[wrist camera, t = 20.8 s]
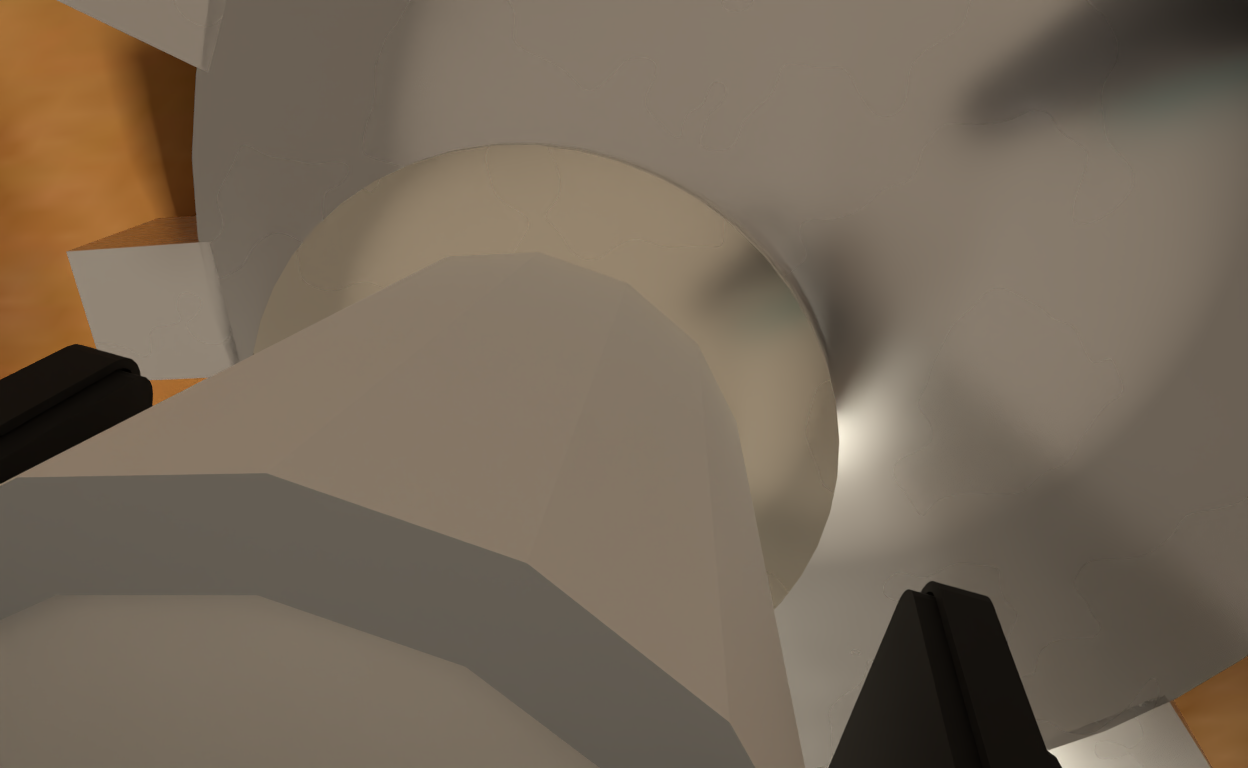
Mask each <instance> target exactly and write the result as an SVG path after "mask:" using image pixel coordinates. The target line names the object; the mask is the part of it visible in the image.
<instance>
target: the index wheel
mask: <svg viewBox="0 0 1248 768" xmlns="http://www.w3.org/2000/svg"><path fill="white" fill-rule="evenodd" d="M58 1H60V2H62V3H64V4H66V5H68V6H70V7H72V8H74V9H76V10H78V11H80V12H83V13H85V14H87V15H89V16H91V17H93V18H95V19H97V20H99V21H101V22H103V23H105V24H107V25H110V26H112V27H114V28H116V29H118V30H120V31H122V32H124V33H126V34H128V35H130V36H132V37H135V38H137V39H139V40H141V41H143V42H145V43H147V44H149V45H151V46H153V47H155V48H157V49H159V50H162V51H164V52H166V53H168V54H170V55H172V56H174V57H176V58H178V59H180V60H182V61H184V62H186V63H189V64H191V65H193V66H195V67H197V71H196V83H195V103H194V123H193V143H192V166H193V179H194V193H195V206H196V216H183V217H170V218H157V219H154V220H152V221H149V222H146V223H143V224H141V225H138V226H135V227H132V228H130V229H127V230H124V231H121V232H119V233H116V234H113V235H111V236H108V237H105V238H102V239H100V240H97V241H94V242H91V243H89V244H86V245H83V246H80V247H78V248H75V249H72V250H69V251H67V255H68V258H69V262H70V265H71V268H72V271H73V274H74V278H75V281H76V284H77V287H78V290H79V294H80V297H81V300H82V303H83V306H84V310H85V313H86V316H87V319H88V322H89V326H90V329H91V332H92V335H93V339H94V342H95V345H96V348H97V349H98V350H101V351H105V352H109V353H112V354H116V355H119V356H123V357H127V358H130V359H133V360H134V361H135V362H136V363H137V364H138V367H139V370H140V373H141V376H143V377H146V378H147V379H148V380H163V379H186V378H208V377H211V376H213V375H215V374H217V373H219V372H221V371H223V370H225V369H227V368H229V367H231V366H233V365H234V364H236V363H238V362H240V361H242V360H244V359H246V358H248V357H250V356H252V355H254V354H256V353H258V352H260V351H262V350H264V349H266V348H268V347H270V346H272V345H274V344H276V343H278V342H280V341H282V340H284V339H285V338H287V337H289V336H291V335H293V334H295V333H297V332H299V331H301V330H303V329H305V328H307V327H309V326H311V325H313V324H315V323H317V322H319V321H321V320H323V319H325V318H327V317H329V316H331V315H333V314H334V313H336V312H338V311H340V310H342V309H344V308H346V307H348V306H350V305H352V304H354V303H356V302H358V301H360V300H362V299H364V298H366V297H368V296H370V295H372V294H374V293H376V292H378V291H380V290H382V289H384V288H386V287H388V286H390V285H392V284H394V283H396V282H398V281H400V280H402V279H404V278H406V277H408V276H410V275H412V274H414V273H416V272H418V271H420V270H422V269H424V268H426V267H428V266H430V265H432V264H434V263H436V262H438V261H440V260H442V259H444V258H446V257H448V256H468V255H488V254H509V253H529V252H540V253H543V254H546V255H549V256H551V257H554V258H557V259H560V260H563V261H566V262H569V263H571V264H574V265H577V266H580V267H583V268H586V269H589V270H592V271H594V272H597V273H600V274H603V275H606V276H609V277H612V278H614V279H617V280H620V281H623V282H626V283H628V284H629V285H630V286H632V287H633V288H634V289H635V290H636V291H637V292H638V293H640V294H641V295H642V296H643V297H644V298H645V299H647V300H648V301H649V302H650V303H651V304H652V305H653V306H655V307H656V308H657V309H658V310H659V311H660V312H662V313H663V314H664V315H665V316H666V317H667V318H669V319H670V320H671V321H672V322H673V323H674V324H675V325H677V326H678V327H679V328H680V329H681V330H682V331H684V332H685V333H686V334H687V335H688V336H689V337H690V338H692V339H693V340H694V341H695V342H696V343H697V344H698V346H699V348H700V350H701V352H702V354H703V356H704V358H705V360H706V362H707V364H708V366H709V368H710V370H711V372H712V374H713V376H714V378H715V380H716V382H717V384H718V386H719V388H720V390H721V392H722V394H723V396H724V398H725V400H726V402H727V404H728V406H729V408H730V410H731V412H732V414H733V416H734V418H735V420H736V422H737V427H738V432H739V437H740V443H741V448H742V453H743V458H744V463H745V468H746V473H747V478H748V483H749V488H750V493H751V498H752V503H753V508H754V513H755V518H756V523H757V528H758V533H759V538H760V543H761V548H762V553H763V558H764V563H765V568H766V573H767V578H768V583H769V588H770V593H771V598H772V603H773V608H774V613H775V618H776V623H777V628H778V633H779V638H780V643H781V648H782V654H783V659H784V664H785V669H786V674H787V679H788V684H789V689H790V694H791V699H792V704H793V709H794V714H795V719H796V724H797V729H798V734H799V739H800V744H801V749H802V754H803V759H804V764H805V768H828V767H829V765H830V763H831V760H832V758H833V756H834V753H835V751H836V748H837V746H838V744H839V741H840V739H841V737H842V734H843V732H844V729H845V727H846V725H847V722H848V720H849V718H850V715H851V713H852V710H853V708H854V706H855V703H856V701H857V699H858V696H859V694H860V691H861V689H862V687H863V684H864V682H865V680H866V677H867V675H868V672H869V670H870V668H871V665H872V663H873V661H874V658H875V656H876V653H877V651H878V649H879V646H880V644H881V642H882V639H883V637H884V634H885V632H886V630H887V627H888V625H889V623H890V620H891V618H892V615H893V613H894V611H895V608H896V606H897V604H898V601H899V599H900V597H901V595H902V594H903V593H904V592H905V591H906V590H908V589H910V590H914V591H917V592H921V591H922V589H923V588H924V586H925V585H926V584H927V583H928V582H930V581H935V582H939V583H942V584H946V585H949V586H953V587H957V588H960V589H964V590H968V591H971V592H975V593H978V594H982V595H985V596H988V597H989V598H990V599H991V601H992V603H993V605H994V608H995V611H996V613H997V616H998V619H999V621H1000V624H1001V627H1002V630H1003V632H1004V635H1005V638H1006V640H1007V643H1008V646H1009V649H1010V651H1011V654H1012V657H1013V659H1014V662H1015V665H1016V668H1017V670H1018V673H1019V676H1020V678H1021V681H1022V684H1023V686H1024V689H1025V692H1026V695H1027V697H1028V700H1029V703H1030V705H1031V708H1032V711H1033V714H1034V716H1035V719H1036V722H1037V724H1038V727H1039V730H1040V733H1041V735H1042V738H1043V741H1044V743H1045V746H1046V749H1047V751H1049V752H1050V753H1051V754H1053V755H1054V756H1055V757H1056V758H1057V759H1058V761H1059V763H1060V765H1061V767H1062V768H1212V766H1211V764H1210V762H1209V761H1208V759H1207V757H1206V756H1205V754H1204V752H1203V750H1202V749H1201V747H1200V745H1199V743H1198V742H1197V740H1196V738H1195V736H1194V735H1193V733H1192V731H1191V730H1190V728H1189V726H1188V724H1187V723H1186V721H1185V719H1184V717H1183V716H1182V714H1181V712H1180V710H1179V709H1178V707H1177V705H1176V703H1175V702H1174V699H1176V698H1178V697H1179V696H1181V695H1183V694H1184V693H1186V692H1188V691H1189V690H1191V689H1193V688H1194V687H1196V686H1198V685H1200V684H1201V683H1203V682H1205V681H1206V680H1208V679H1210V678H1211V677H1213V676H1215V675H1216V674H1218V673H1220V672H1221V671H1223V670H1225V669H1226V668H1228V667H1230V666H1231V665H1233V664H1235V663H1237V662H1238V661H1240V660H1242V659H1243V658H1245V657H1246V656H1247V655H1248V0H58Z"/></svg>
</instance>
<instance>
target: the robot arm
mask: <svg viewBox="0 0 1248 768" xmlns="http://www.w3.org/2000/svg"><path fill="white" fill-rule="evenodd" d="M152 401H153V391H152V385H151V382H150V381H149V380H148V379H147V378H146V377H143V376H141V373H140V370H139V367H138V364H137V363H136V362H135V361H134V360H133V359H130V358H127V357H123V356H119V355H116V354H112V353H109V352H105V351H101V350H98V349H94V348H91V347H87V346H83V345H78V344H74V345H71V346H67V347H65V348H63V349H61V350H59V351H57V352H55V353H53V354H51V355H49V356H47V357H45V358H43V359H41V360H39V361H37V362H35V363H33V364H31V365H29V366H27V367H25V368H23V369H21V370H19V371H17V372H15V373H13V374H11V375H9V376H7V377H5V378H3V379H1V380H0V484H1V483H3V482H5V481H7V480H9V479H11V478H13V477H15V476H17V475H19V474H21V473H23V472H25V471H27V470H29V469H31V468H33V467H35V466H36V465H38V464H40V463H42V462H44V461H46V460H48V459H50V458H52V457H54V456H56V455H58V454H60V453H62V452H64V451H66V450H68V449H70V448H72V447H74V446H76V445H78V444H80V443H82V442H84V441H85V440H87V439H89V438H91V437H93V436H95V435H97V434H99V433H101V432H103V431H105V430H107V429H109V428H111V427H113V426H115V425H117V424H119V423H121V422H123V421H125V420H127V419H129V418H131V417H133V416H135V415H136V414H138V413H140V412H142V411H144V410H146V409H148V408H150V407H152ZM828 768H1062V767H1061V765H1060V763H1059V761H1058V759H1057V758H1056V757H1055V756H1054V755H1053V754H1051V753H1050V752H1049V751H1047V749H1046V746H1045V743H1044V741H1043V738H1042V735H1041V733H1040V730H1039V727H1038V724H1037V722H1036V719H1035V716H1034V714H1033V711H1032V708H1031V705H1030V703H1029V700H1028V697H1027V695H1026V692H1025V689H1024V686H1023V684H1022V681H1021V678H1020V676H1019V673H1018V670H1017V668H1016V665H1015V662H1014V659H1013V657H1012V654H1011V651H1010V649H1009V646H1008V643H1007V640H1006V638H1005V635H1004V632H1003V630H1002V627H1001V624H1000V621H999V619H998V616H997V613H996V611H995V608H994V605H993V603H992V601H991V599H990V598H989V597H988V596H985V595H982V594H978V593H975V592H971V591H968V590H964V589H960V588H957V587H953V586H949V585H946V584H942V583H939V582H935V581H930V582H928V583H927V584H926V585H925V586H924V588H923V589H922V591H921V592H917V591H914V590H910V589H908V590H906V591H905V592H904V593H903V594H902V595H901V597H900V599H899V601H898V604H897V606H896V608H895V611H894V613H893V615H892V618H891V620H890V623H889V625H888V627H887V630H886V632H885V634H884V637H883V639H882V642H881V644H880V646H879V649H878V651H877V653H876V656H875V658H874V661H873V663H872V665H871V668H870V670H869V672H868V675H867V677H866V680H865V682H864V684H863V687H862V689H861V691H860V694H859V696H858V699H857V701H856V703H855V706H854V708H853V710H852V713H851V715H850V718H849V720H848V722H847V725H846V727H845V729H844V732H843V734H842V737H841V739H840V741H839V744H838V746H837V748H836V751H835V753H834V756H833V758H832V760H831V763H830V765H829V767H828Z"/></svg>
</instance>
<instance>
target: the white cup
mask: <svg viewBox="0 0 1248 768" xmlns="http://www.w3.org/2000/svg"><path fill="white" fill-rule="evenodd" d="M0 768H805V764H804V759H803V754H802V749H801V744H800V739H799V734H798V729H797V724H796V719H795V714H794V709H793V704H792V699H791V694H790V689H789V684H788V679H787V674H786V669H785V664H784V659H783V654H782V648H781V643H780V638H779V633H778V628H777V623H776V618H775V613H774V608H773V603H772V598H771V593H770V588H769V583H768V578H767V573H766V568H765V563H764V558H763V553H762V548H761V543H760V538H759V533H758V528H757V523H756V518H755V513H754V508H753V503H752V498H751V493H750V488H749V483H748V478H747V473H746V468H745V463H744V458H743V453H742V448H741V443H740V437H739V432H738V427H737V422H736V420H735V418H734V416H733V414H732V412H731V410H730V408H729V406H728V404H727V402H726V400H725V398H724V396H723V394H722V392H721V390H720V388H719V386H718V384H717V382H716V380H715V378H714V376H713V374H712V372H711V370H710V368H709V366H708V364H707V362H706V360H705V358H704V356H703V354H702V352H701V350H700V348H699V346H698V344H697V343H696V342H695V341H694V340H693V339H692V338H690V337H689V336H688V335H687V334H686V333H685V332H684V331H682V330H681V329H680V328H679V327H678V326H677V325H675V324H674V323H673V322H672V321H671V320H670V319H669V318H667V317H666V316H665V315H664V314H663V313H662V312H660V311H659V310H658V309H657V308H656V307H655V306H653V305H652V304H651V303H650V302H649V301H648V300H647V299H645V298H644V297H643V296H642V295H641V294H640V293H638V292H637V291H636V290H635V289H634V288H633V287H632V286H630V285H629V284H628V283H626V282H623V281H620V280H617V279H614V278H612V277H609V276H606V275H603V274H600V273H597V272H594V271H592V270H589V269H586V268H583V267H580V266H577V265H574V264H571V263H569V262H566V261H563V260H560V259H557V258H554V257H551V256H549V255H546V254H543V253H540V252H529V253H509V254H488V255H468V256H448V257H446V258H444V259H442V260H440V261H438V262H436V263H434V264H432V265H430V266H428V267H426V268H424V269H422V270H420V271H418V272H416V273H414V274H412V275H410V276H408V277H406V278H404V279H402V280H400V281H398V282H396V283H394V284H392V285H390V286H388V287H386V288H384V289H382V290H380V291H378V292H376V293H374V294H372V295H370V296H368V297H366V298H364V299H362V300H360V301H358V302H356V303H354V304H352V305H350V306H348V307H346V308H344V309H342V310H340V311H338V312H336V313H334V314H333V315H331V316H329V317H327V318H325V319H323V320H321V321H319V322H317V323H315V324H313V325H311V326H309V327H307V328H305V329H303V330H301V331H299V332H297V333H295V334H293V335H291V336H289V337H287V338H285V339H284V340H282V341H280V342H278V343H276V344H274V345H272V346H270V347H268V348H266V349H264V350H262V351H260V352H258V353H256V354H254V355H252V356H250V357H248V358H246V359H244V360H242V361H240V362H238V363H236V364H234V365H233V366H231V367H229V368H227V369H225V370H223V371H221V372H219V373H217V374H215V375H213V376H211V377H209V378H207V379H205V380H203V381H201V382H199V383H197V384H195V385H193V386H191V387H189V388H187V389H185V390H184V391H182V392H180V393H178V394H176V395H174V396H172V397H170V398H168V399H166V400H164V401H162V402H160V403H158V404H156V405H154V406H152V407H150V408H148V409H146V410H144V411H142V412H140V413H138V414H136V415H135V416H133V417H131V418H129V419H127V420H125V421H123V422H121V423H119V424H117V425H115V426H113V427H111V428H109V429H107V430H105V431H103V432H101V433H99V434H97V435H95V436H93V437H91V438H89V439H87V440H85V441H84V442H82V443H80V444H78V445H76V446H74V447H72V448H70V449H68V450H66V451H64V452H62V453H60V454H58V455H56V456H54V457H52V458H50V459H48V460H46V461H44V462H42V463H40V464H38V465H36V466H35V467H33V468H31V469H29V470H27V471H25V472H23V473H21V474H19V475H17V476H15V477H13V478H11V479H9V480H7V481H5V482H3V483H1V484H0Z"/></svg>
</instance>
